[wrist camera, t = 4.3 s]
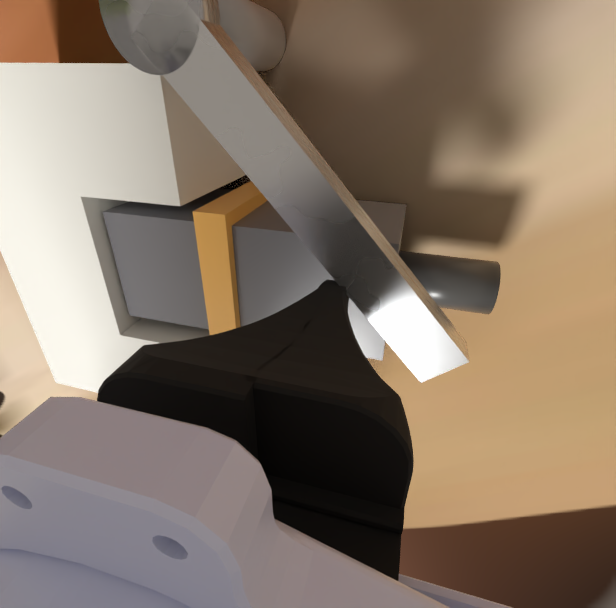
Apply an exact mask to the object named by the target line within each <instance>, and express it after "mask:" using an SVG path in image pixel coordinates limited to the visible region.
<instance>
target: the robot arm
mask: <svg viewBox="0 0 616 608" xmlns="http://www.w3.org/2000/svg"><path fill="white" fill-rule="evenodd" d="M348 304H349V297H348V295H347V290H346V286H339V285H338V284H337V282H336V281H335V280H328V279H327V280H325V281H324V282H323V283H322V284H321V285H320V286H319V287H318V289H316V290H315V291H313V292H311V293H310V294H308V295H307V296H305V297H304V298H302V299H300V300H299V301H297V302H295V303H293V304H292V305H290V306H288V307H286V308H284V309H282V310H281V311H279V312H277V313H275V314H273V315H270V316H268V317H266V318H263V319H261V320H259V321H256V322H254V323H251V324H248V325H245V326H242V327H238V328H235V329H232V330H229V331H225V332H222V333H218V334H214V335H209V336H205V337H200V338H195V339H189V340H183V341H175V342H167V343H158V344H149V345H143V346H142V347H141V348H140V349H139V350H137V351H136V352H135V353H134V354H133V355H132V356H131V357H130V358H129V359H127V360H126V361H125V362H124V363H123V364H122V365H121V366H120V367H119V368H117V369H116V370H115V371H114V372H113V373H112V374H111V375H110V376H109V377H107V378H106V379H105V380H104V382H103V383H102V385H101V386H100V388H99V390H98V398H97V401H94V400H90V399H86V398H82V397H50V398H49V399H47V400H46V401H45V402H44V403H43V404H41V405H40V406H39V407H38V408H36V409H35V410H34V411H33V412H32V413H30V414H29V415H28V416H27V417H25V418H24V419H23V420H22V421H21V422H19V423H18V424H17V425H16V426H14V427H13V428H12V429H11V430H10V431H8V432H7V433H6V434H5V435H3V436H2V437H1V438H0V608H512V607H508V606H505V605H502V604H498V603H495V602H492V601H488V600H485V599H481V598H478V597H475V596H471V595H468V594H465V593H462V592H458V591H455V590H451V589H448V588H444V587H441V586H438V585H434V584H431V583H428V582H425V581H421V580H418V579H415V578H411V577H408V576H404V575H401V574H399V563H400V545H401V534H402V531H403V523H404V506H405V502H406V498H407V494H408V489H409V485H410V481H411V477H412V472H413V449H412V442H411V436H410V431H409V426H408V422H407V419H406V415H405V411H404V408H403V405H402V402H401V398H400V397H399V395H398V394H397V393H396V392H395V391H394V390H393V389H392V388H391V387H390V386H388V385H387V384H386V383H385V382H384V381H383V380H382V379H381V378H380V376H379V375H378V374H377V373H376V372H375V370H374V369H373V367H372V366H371V364H370V363H369V361H368V360H367V358H366V357H365V355H364V354H363V352H362V350H361V348H360V346H359V344H358V342H357V339H356V337H355V335H354V332H353V329H352V326H351V323H350V319H349V315H348Z"/></svg>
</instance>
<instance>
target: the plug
mask: <svg viewBox="0 0 616 608" xmlns="http://www.w3.org/2000/svg"><path fill="white" fill-rule="evenodd" d="M356 201H357V202H358V203H359V205H360V206H361V207H362V208H363V210H364V211H365V212H366V214H367V215H368V216H369V217H370V219H371V220H372V221H373V223H374V224H375V225H376V226H377V228H378V229H379V230H380V232H381V233H382V234H383V235H384V237H385V238H386V239H387V241H388V242H389V243H390V245H391V246H392V247H393V248H394V250H395V251H396V252H397V254H398V255H399V256H400V257H401V259H402V260H403V261H404V263H405V264H406V265H407V266H408V268H409V269H410V270H411V272H412V273H413V274H414V275H415V277H416V278H417V279H418V281H419V282H420V283H421V284H422V286H423V287H424V288H425V290H426V291H427V292H428V293H429V295H430V296H431V297H432V299H433V300H434V301H435V302H436V304H437V305H438V306H439V307H440V308H447V309H454V310H461V311H468V312H475V313H482V314H490V313H491V311H492V310H493V308H494V305H495V302H496V299H497V295H498V291H499V285H500V265H499V263H498V262H494V261H485V260H476V259H467V258H458V257H450V256H441V255H432V254H423V253H414V252H405V251H400V246H401V240H402V233H403V226H404V219H405V212H406V206H407V204H397V203H385V202H374V201H362V200H356ZM103 215H104V219H105V223H106V227H107V231H108V234H109V238H110V242H111V246H112V250H113V254H114V257H115V261H116V265H117V269H118V273H119V277H120V280H121V284H122V288H123V292H124V296H125V299H126V303H127V307H128V311H129V315H131V316H136V317H142V318H147V319H153V320H159V321H164V322H170V323H175V324H181V325H187V326H192V327H198V328H203V329H209V333H210V335H214V334H218V333H222V332H225V331H229V330H232V329H235V328H238V327H242V326H245V325H248V324H251V323H254V322H256V321H259V320H261V319H263V318H266V317H268V316H270V315H273V314H275V313H277V312H279V311H281V310H282V309H284V308H286V307H288V306H290V305H292V304H293V303H295V302H297V301H299V300H300V299H302V298H304V297H305V296H307V295H308V294H310V293H311V292H313V291H315V290H316V289H318V287H319V286H320V285H321V284H322V283H323V282H324V281H325V280H327V279H328V280H334V279H333V278H332V276H331V275H330V274H329V273H328V272H327V270H326V269H325V268H324V267H323V266H322V264H321V263H320V262H319V261H318V260H317V259H316V257H315V256H314V255H313V254H312V253H311V251H310V250H309V249H308V248H307V247H306V245H305V244H304V243H303V242H302V241H301V239H300V238H299V237H298V236H297V235H296V234H295V232H294V231H293V230H292V229H291V228H290V226H289V225H288V224H287V223H286V222H285V220H284V219H283V218H282V217H281V216H280V214H279V213H278V212H277V211H276V210H275V209H274V207H273V206H272V205H271V204H270V203H269V201H268V200H267V199H266V198H265V197H264V195H263V194H262V193H261V192H260V191H259V189H258V188H257V187H256V186H255V185H254V184H253V182H252V181H250V182H248V183H246V184H244V185H242V186H240V187H238V188H236V189H222V188H218V189H216V190H214V191H211V192H209V193H207V194H205V195H203V196H201V197H199V198H197V199H195V200H193V201H191V202H188V203H186V204H184V205H182V206H172V205H162V204H152V203H142V202H132V201H129V202H127V203H124V204H121V205H119V206H116V207H114V208H111V209H108V210H106V211H103ZM348 315H349V319H350V323H351V326H352V329H353V332H354V335H355V337H356V339H357V342H358V344H359V346H360V348H361V350H362V352H363V354H364V355H365V357H366V358H371V359H376V360H383V354H384V348H385V342H386V341H385V339H384V338H383V337H382V336H381V335H380V334H379V332H378V331H377V330H376V329H375V328H374V326H373V325H372V324H371V323H370V322H369V320H368V319H367V318H366V317H365V316H364V314H363V313H362V312H361V311H360V310H359V309H358V307H357V306H356V305H355V304H354V303H353V301H352V300H351V299H350V298H349V304H348Z"/></svg>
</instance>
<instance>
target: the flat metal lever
mask: <svg viewBox="0 0 616 608" xmlns="http://www.w3.org/2000/svg"><path fill="white" fill-rule="evenodd" d="M99 6H100V11H101V15H102V19H103V22H104V25H105V28H106V30H107V33H108V35H109V37H110V39H111V41H112V42H113V44H114V45H115V47H116V49H117V50H118V51H119V52H120V54H121V55H122V56H123V57H124V58H125V59H126V60H127V61H128V62H129V63H130V64H131V65H133V66H134V67H136V68H137V69H139V70H141V71H143V72H145V73H149V74H153V75H163V76H164V78H165V79H166V80H167V81H168V82H169V84H170V85H171V86H172V87H173V88H174V90H175V91H176V92H177V93H178V94H179V95H180V97H181V98H182V99H183V100H184V101H185V103H186V104H187V105H188V106H189V107H190V109H191V110H192V111H193V112H194V113H195V115H196V116H197V117H198V118H199V119H200V120H201V122H202V123H203V124H204V125H205V126H206V128H207V129H208V130H209V131H210V132H211V134H212V135H213V136H214V137H215V138H216V140H217V141H218V142H219V143H220V144H221V145H222V147H223V148H224V149H225V150H226V151H227V153H228V154H229V155H230V156H231V157H232V159H233V160H234V161H235V162H236V163H237V164H238V166H239V167H240V168H241V169H242V170H243V172H244V173H245V174H246V175H247V176H248V178H249V179H250V180H251V181H252V182H253V184H254V185H255V186H256V187H257V188H258V189H259V191H260V192H261V193H262V194H263V195H264V197H265V198H266V199H267V200H268V201H269V203H270V204H271V205H272V206H273V207H274V209H275V210H276V211H277V212H278V213H279V214H280V216H281V217H282V218H283V219H284V220H285V222H286V223H287V224H288V225H289V226H290V228H291V229H292V230H293V231H294V232H295V234H296V235H297V236H298V237H299V238H300V239H301V241H302V242H303V243H304V244H305V245H306V247H307V248H308V249H309V250H310V251H311V253H312V254H313V255H314V256H315V257H316V259H317V260H318V261H319V262H320V263H321V264H322V266H323V267H324V268H325V269H326V270H327V272H328V273H329V274H330V275H331V276H332V278H333V279H334V280H335V281H336V282H337V284H338V285H339V286H346V290H347V295H348V297H349V298H350V299H351V300H352V301H353V303H354V304H355V305H356V306H357V307H358V309H359V310H360V311H361V312H362V313H363V314H364V316H365V317H366V318H367V319H368V320H369V322H370V323H371V324H372V325H373V326H374V328H375V329H376V330H377V331H378V332H379V334H380V335H381V336H382V337H383V338H384V339H385V341H386V342H387V343H388V344H389V345H390V347H391V348H392V349H393V350H394V351H395V353H396V354H397V355H398V356H399V357H400V359H401V360H402V361H403V362H404V363H405V364H406V366H407V367H408V368H409V369H410V370H411V372H412V373H413V374H414V375H415V376H416V378H417V379H418V380H419V381H420V382H421V383H422V382H424V381H426V380H428V379H431V378H433V377H435V376H438V375H440V374H442V373H445V372H447V371H449V370H452V369H454V368H456V367H459V366H461V365H463V364H466V363H468V362H469V357H468V350H467V343H466V341H465V340H464V339H463V337H462V336H461V335H460V333H459V332H458V331H457V330H456V328H455V327H454V326H453V324H452V323H451V322H450V321H449V319H448V318H447V317H446V315H445V314H444V313H443V312H442V310H441V309H440V308H439V306H438V305H437V304H436V302H435V301H434V300H433V299H432V297H431V296H430V295H429V293H428V292H427V291H426V290H425V288H424V287H423V286H422V284H421V283H420V282H419V281H418V279H417V278H416V277H415V275H414V274H413V273H412V272H411V270H410V269H409V268H408V266H407V265H406V264H405V263H404V261H403V260H402V259H401V257H400V256H399V255H398V254H397V252H396V251H395V250H394V248H393V247H392V246H391V245H390V243H389V242H388V241H387V239H386V238H385V237H384V235H383V234H382V233H381V232H380V230H379V229H378V228H377V226H376V225H375V224H374V223H373V221H372V220H371V219H370V217H369V216H368V215H367V214H366V212H365V211H364V210H363V208H362V207H361V206H360V205H359V203H358V202H357V201H356V199H355V198H354V197H353V196H352V194H351V193H350V192H349V190H348V189H347V188H346V187H345V185H344V184H343V183H342V181H341V180H340V179H339V178H338V176H337V175H336V174H335V172H334V171H333V170H332V168H331V167H330V166H329V165H328V163H327V162H326V161H325V159H324V158H323V157H322V156H321V154H320V153H319V152H318V150H317V149H316V148H315V147H314V145H313V144H312V143H311V141H310V140H309V139H308V138H307V136H306V135H305V134H304V132H303V131H302V130H301V129H300V127H299V126H298V125H297V123H296V122H295V121H294V120H293V118H292V117H291V116H290V114H289V113H288V112H287V111H286V109H285V108H284V107H283V105H282V104H281V103H280V102H279V100H278V99H277V98H276V96H275V95H274V94H273V92H272V91H271V90H270V89H269V87H268V86H267V85H266V83H265V82H264V81H263V80H262V78H261V77H260V76H259V74H258V73H257V72H256V71H255V69H254V68H253V67H252V65H251V64H250V63H249V62H248V60H247V59H246V58H245V56H244V55H243V54H242V53H241V51H240V50H239V49H238V47H237V46H236V45H235V44H234V42H233V41H232V40H231V38H230V37H229V36H228V35H227V33H226V32H225V31H224V29H223V28H222V27H221V25H220V12H219V5H218V0H99Z"/></svg>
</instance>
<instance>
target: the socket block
mask: <svg viewBox="0 0 616 608" xmlns="http://www.w3.org/2000/svg"><path fill="white" fill-rule="evenodd" d="M218 5H219V12H220V25H221V27H222V28H223V29H224V31H225V32H226V33H227V35H228V36H229V37H230V38H231V40H232V41H233V42H234V44H235V45H236V46H237V47H238V49H239V50H240V51H241V53H242V54H243V55H244V56H245V58H246V59H247V60H248V62H249V63H250V64H251V65H252V67H253V68H254V69H255V71H268V70H270V69H272V68H274V67H275V66H276V65H277V64H278V63H279V62H280V60H281V59H282V57H283V54H284V51H285V47H286V35H285V30H284V27H283V25H282V23H281V21H280V19H279V18H278V17H277V15H276V14H274V13H273V12H272V11H270V10H268V9H266V8H264V7H262V6H260V5H258V4H256V3H254V2H252V1H250V0H218ZM245 175H246V174H245V173H244V172H243V170H242V169H241V168H240V167H239V166H238V164H237V163H236V162H235V161H234V160H233V159H232V157H231V156H230V155H229V154H228V153H227V151H226V150H225V149H224V148H223V147H222V145H221V144H220V143H219V142H218V141H217V140H216V138H215V137H214V136H213V135H212V134H211V132H210V131H209V130H208V129H207V128H206V126H205V125H204V124H203V123H202V122H201V120H200V119H199V118H198V117H197V116H196V115H195V113H194V112H193V111H192V110H191V109H190V107H189V106H188V105H187V104H186V103H185V101H184V100H183V99H182V98H181V97H180V95H179V94H178V93H177V92H176V91H175V90H174V88H173V87H172V86H171V85H170V84H169V82H168V81H167V80H166V79H165V78H164V76H163V75H153V74H149V73H145V72H143V71H141V70H139V69H137V68H136V67H134V66H133V65H131V64H130V63H0V251H1V253H2V255H3V258H4V260H5V263H6V265H7V267H8V270H9V272H10V274H11V277H12V279H13V282H14V284H15V286H16V289H17V291H18V293H19V296H20V298H21V301H22V303H23V305H24V308H25V310H26V313H27V315H28V317H29V320H30V322H31V324H32V327H33V329H34V332H35V334H36V336H37V339H38V341H39V343H40V346H41V348H42V351H43V353H44V355H45V358H46V360H47V362H48V365H49V367H50V370H51V372H52V374H53V377H54V379H55V381H56V383H59V384H63V385H67V386H72V387H76V388H80V389H84V390H89V391H93V392H97V393H98V390H99V388H100V386H101V385H102V383H103V382H104V380H105V379H106V378H107V377H109V376H110V375H111V374H112V373H113V372H114V371H115V370H116V369H117V368H119V367H120V366H121V365H122V364H123V363H124V362H125V361H126V360H127V359H129V358H130V357H131V356H132V355H133V354H134V353H135V352H136V351H137V350H139V349H140V348H141V347H142V346H143V345H149V344H158V343H167V342H175V341H183V340H189V339H195V338H200V337H205V336H209V335H210V333H209V329H203V328H198V327H192V326H187V325H181V324H175V323H170V322H164V321H159V320H153V319H147V318H142V317H136V316H131V315H129V311H128V307H127V303H126V299H125V296H124V292H123V288H122V284H121V280H120V277H119V273H118V269H117V265H116V261H115V257H114V254H113V250H112V246H111V242H110V238H109V234H108V231H107V227H106V223H105V219H104V215H103V211H106V210H108V209H111V208H114V207H116V206H119V205H121V204H124V203H127V202H129V201H132V202H142V203H152V204H162V205H172V206H182V205H184V204H186V203H188V202H191V201H193V200H195V199H197V198H199V197H201V196H203V195H205V194H207V193H209V192H211V191H214V190H216V189H218V188H220V187H222V186H224V185H226V184H228V183H230V182H232V181H234V180H237V179H239V178H241V177H243V176H245Z"/></svg>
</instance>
